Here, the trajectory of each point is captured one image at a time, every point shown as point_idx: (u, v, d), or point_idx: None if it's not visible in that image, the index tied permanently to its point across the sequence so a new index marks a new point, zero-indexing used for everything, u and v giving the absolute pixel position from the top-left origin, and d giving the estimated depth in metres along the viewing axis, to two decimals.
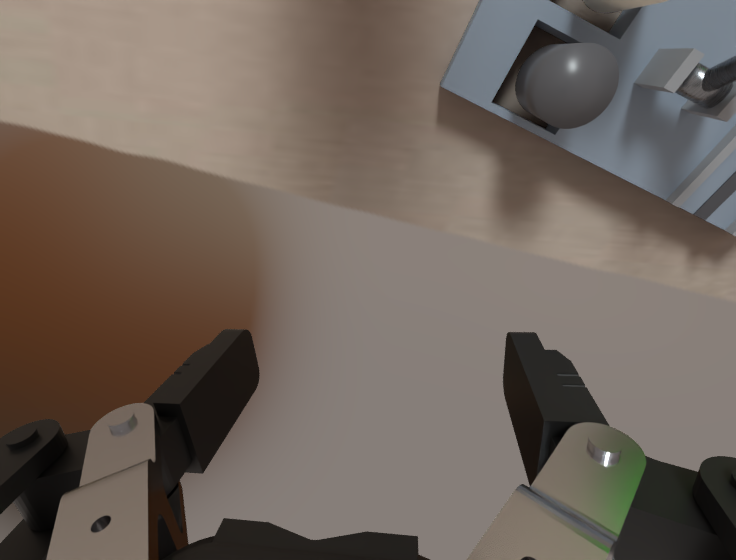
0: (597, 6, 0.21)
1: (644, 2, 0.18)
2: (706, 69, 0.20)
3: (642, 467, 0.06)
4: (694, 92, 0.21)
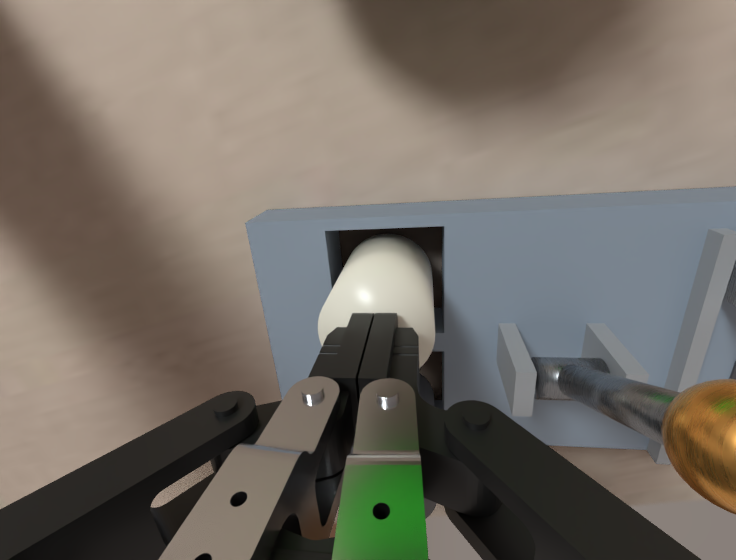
0: None
1: None
2: (557, 373, 0.14)
3: (405, 408, 0.08)
4: (562, 399, 0.14)
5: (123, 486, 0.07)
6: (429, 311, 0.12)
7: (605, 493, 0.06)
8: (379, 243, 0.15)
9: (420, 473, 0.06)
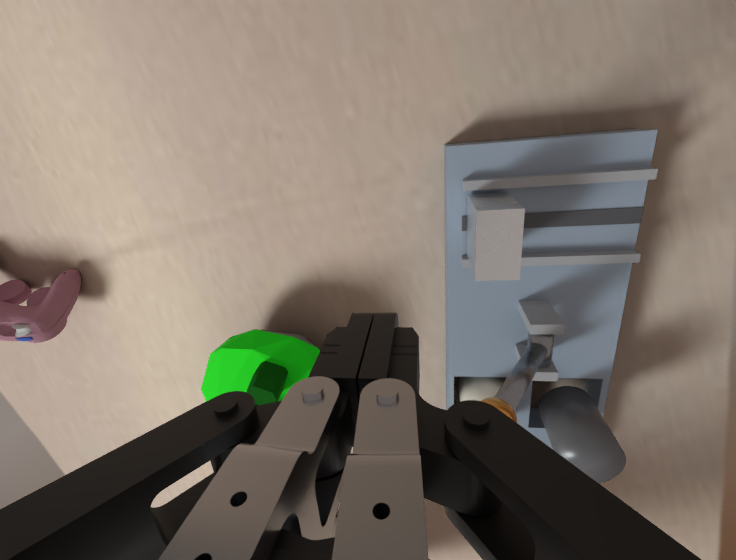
0: None
1: None
2: None
3: (405, 408, 0.08)
4: (550, 354, 0.25)
5: (123, 486, 0.07)
6: None
7: (605, 493, 0.06)
8: (459, 395, 0.32)
9: (420, 473, 0.06)
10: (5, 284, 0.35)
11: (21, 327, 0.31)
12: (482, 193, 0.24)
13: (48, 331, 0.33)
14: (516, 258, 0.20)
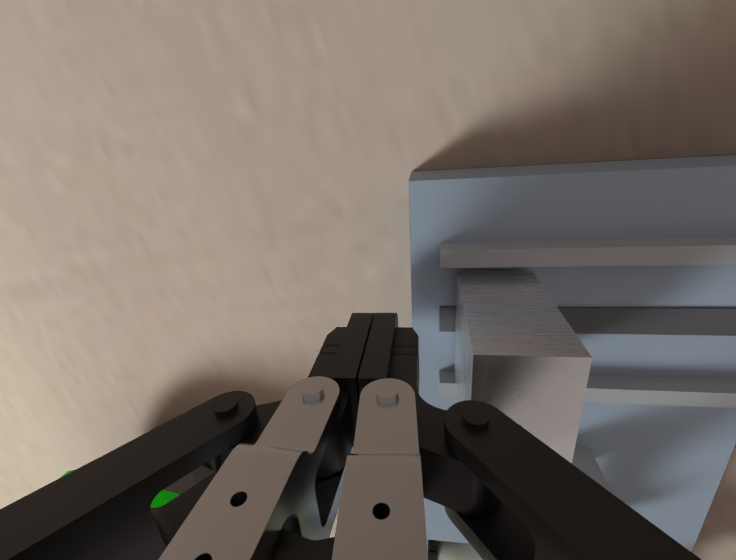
0: None
1: None
2: None
3: (405, 408, 0.08)
4: None
5: (122, 486, 0.07)
6: None
7: (605, 493, 0.06)
8: (437, 555, 0.21)
9: (420, 473, 0.06)
10: None
11: None
12: (485, 271, 0.13)
13: None
14: (563, 453, 0.09)
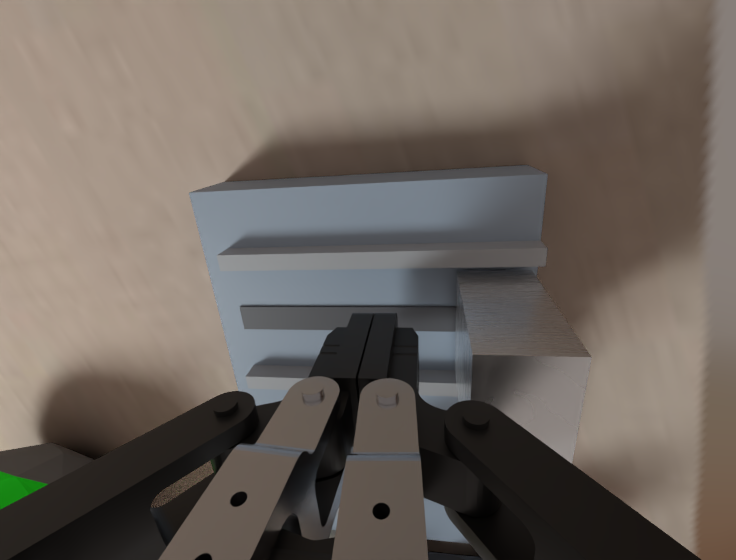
0: None
1: None
2: None
3: (405, 408, 0.08)
4: None
5: (123, 486, 0.07)
6: None
7: (605, 493, 0.06)
8: None
9: (420, 473, 0.06)
10: None
11: None
12: (485, 270, 0.13)
13: None
14: (563, 453, 0.09)
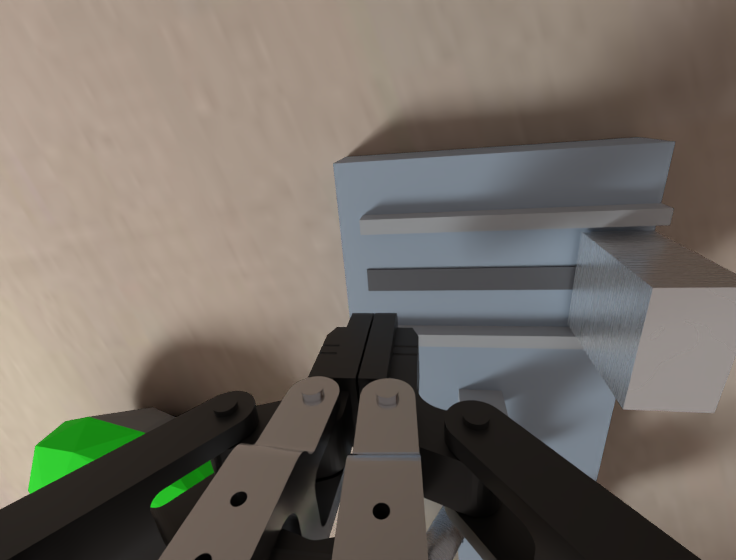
0: None
1: None
2: None
3: (405, 408, 0.08)
4: None
5: (123, 486, 0.07)
6: None
7: (605, 493, 0.06)
8: None
9: (420, 473, 0.06)
10: None
11: None
12: (609, 231, 0.14)
13: None
14: (718, 376, 0.10)
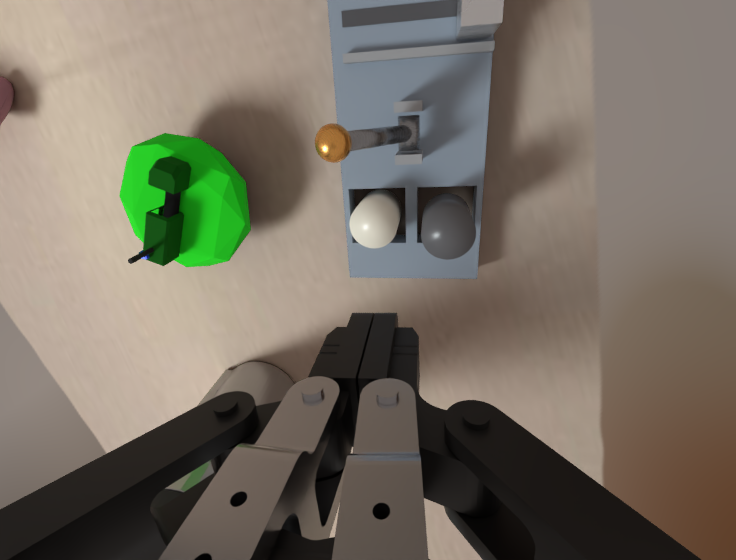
0: (400, 215, 0.35)
1: (395, 219, 0.31)
2: (400, 142, 0.28)
3: (405, 408, 0.08)
4: (415, 137, 0.28)
5: (123, 486, 0.07)
6: (362, 203, 0.31)
7: (605, 493, 0.06)
8: None
9: (420, 473, 0.06)
10: None
11: None
12: None
13: None
14: None
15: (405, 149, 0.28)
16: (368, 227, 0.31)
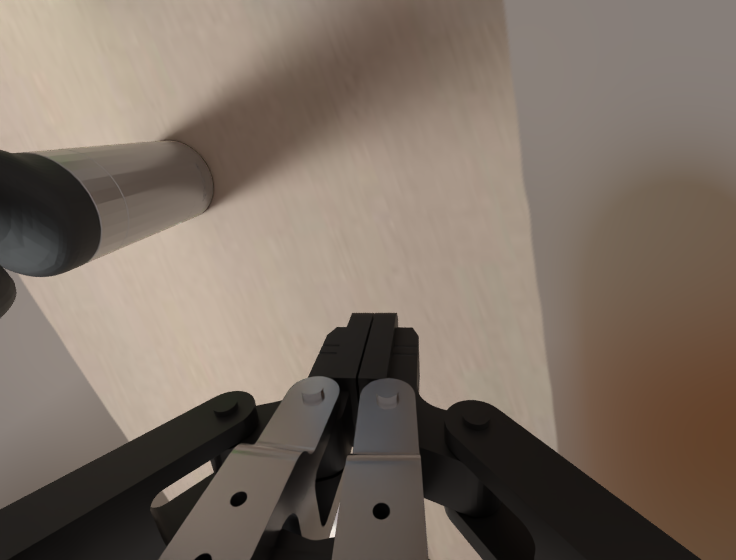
0: None
1: None
2: None
3: (405, 408, 0.08)
4: None
5: (122, 486, 0.07)
6: None
7: (605, 493, 0.06)
8: None
9: (420, 473, 0.06)
10: None
11: None
12: None
13: None
14: None
15: None
16: None
